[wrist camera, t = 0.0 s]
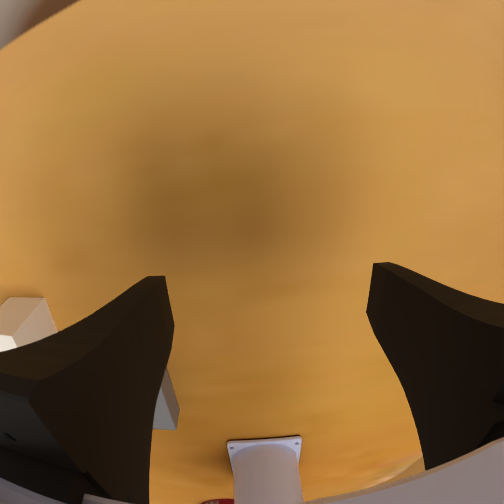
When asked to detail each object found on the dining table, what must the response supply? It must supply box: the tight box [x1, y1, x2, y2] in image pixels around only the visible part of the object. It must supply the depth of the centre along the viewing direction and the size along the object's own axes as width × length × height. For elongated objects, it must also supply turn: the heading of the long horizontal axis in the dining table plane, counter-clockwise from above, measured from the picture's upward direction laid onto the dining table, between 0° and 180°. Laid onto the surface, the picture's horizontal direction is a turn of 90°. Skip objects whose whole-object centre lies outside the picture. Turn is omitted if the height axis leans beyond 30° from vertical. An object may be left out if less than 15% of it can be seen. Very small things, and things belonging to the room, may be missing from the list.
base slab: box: [153, 366, 180, 430], centre depth 24 cm, size 8×8×3 cm
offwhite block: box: [0, 297, 58, 352], centre depth 20 cm, size 5×5×6 cm
